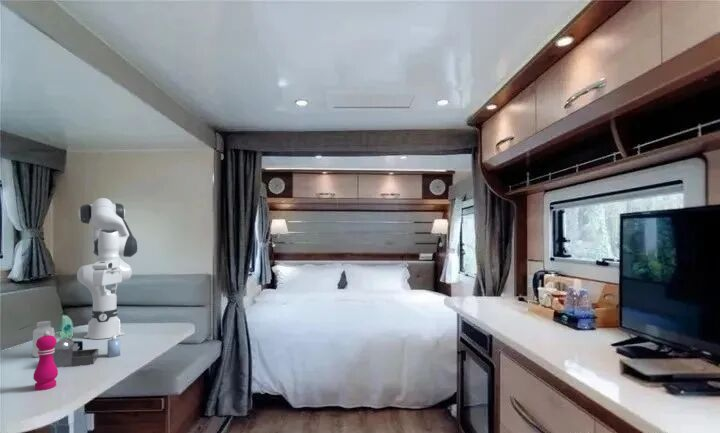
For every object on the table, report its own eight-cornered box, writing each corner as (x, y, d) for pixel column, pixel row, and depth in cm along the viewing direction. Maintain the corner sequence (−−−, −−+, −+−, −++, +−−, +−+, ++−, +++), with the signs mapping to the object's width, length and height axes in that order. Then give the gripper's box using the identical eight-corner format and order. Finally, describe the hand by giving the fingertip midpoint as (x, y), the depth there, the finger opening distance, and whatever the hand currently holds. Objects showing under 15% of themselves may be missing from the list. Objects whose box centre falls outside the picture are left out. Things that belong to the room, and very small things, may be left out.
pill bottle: (42, 358, 194) (43, 324, 195) (27, 357, 196) (28, 323, 196) (58, 353, 202) (58, 320, 202) (43, 352, 204) (44, 319, 204)
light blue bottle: (108, 354, 199) (108, 335, 199) (120, 353, 200) (121, 333, 201) (106, 357, 194) (106, 337, 194) (119, 356, 196) (119, 336, 196)
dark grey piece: (56, 360, 190) (57, 337, 190) (98, 356, 196) (98, 334, 196) (48, 368, 178) (48, 344, 179) (93, 364, 184) (93, 340, 185)
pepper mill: (41, 384, 161) (42, 329, 161) (62, 383, 161) (63, 328, 162) (28, 391, 154) (29, 333, 154) (49, 390, 154) (50, 333, 155)
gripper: (112, 263, 210) (111, 292, 210) (90, 265, 190) (89, 297, 189) (125, 263, 211) (125, 291, 210) (105, 265, 191) (105, 297, 190)
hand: (108, 294), depth 200 cm, fingers open, 8 cm apart
